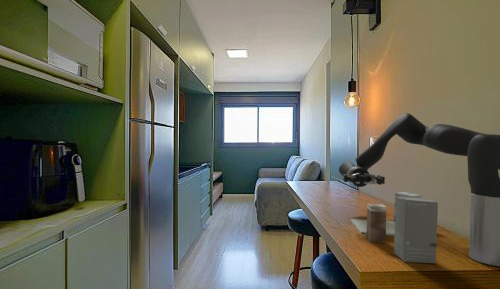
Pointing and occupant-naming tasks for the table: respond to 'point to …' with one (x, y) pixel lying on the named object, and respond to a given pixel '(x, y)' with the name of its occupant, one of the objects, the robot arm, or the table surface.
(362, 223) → the mat
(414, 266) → the table surface
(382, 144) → the robot arm
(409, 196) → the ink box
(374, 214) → the walnut block
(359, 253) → the table surface
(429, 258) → the skincare box
